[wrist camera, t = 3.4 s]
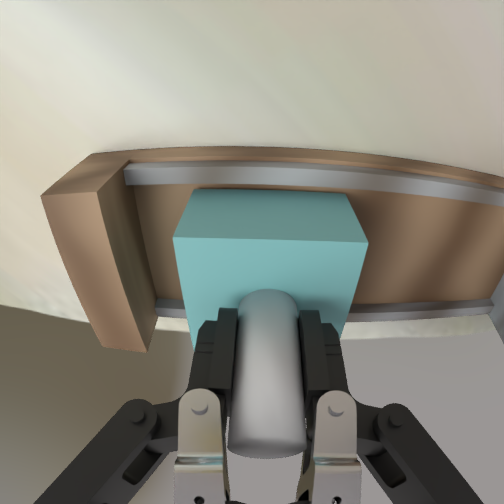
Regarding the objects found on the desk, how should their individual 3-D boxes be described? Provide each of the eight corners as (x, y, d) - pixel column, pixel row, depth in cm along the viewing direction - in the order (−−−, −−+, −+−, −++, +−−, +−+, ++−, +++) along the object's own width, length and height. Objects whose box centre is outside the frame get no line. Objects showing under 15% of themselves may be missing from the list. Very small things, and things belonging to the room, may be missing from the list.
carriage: (345, 193, 14) (423, 390, 6) (323, 301, 18) (347, 468, 10) (193, 189, 14) (117, 387, 6) (205, 298, 18) (176, 465, 10)
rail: (558, 193, 14) (621, 256, 8) (513, 292, 20) (552, 361, 14) (91, 154, 15) (-1, 235, 8) (126, 290, 21) (87, 387, 14)
